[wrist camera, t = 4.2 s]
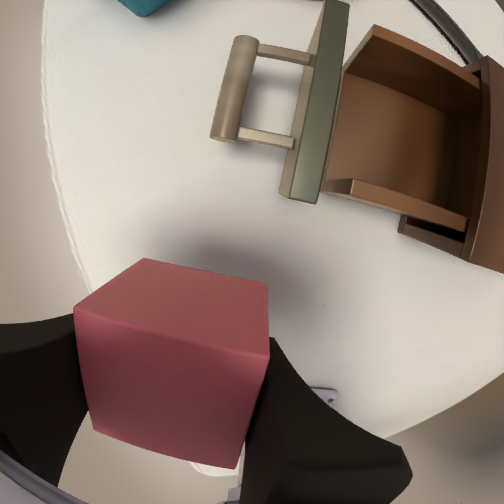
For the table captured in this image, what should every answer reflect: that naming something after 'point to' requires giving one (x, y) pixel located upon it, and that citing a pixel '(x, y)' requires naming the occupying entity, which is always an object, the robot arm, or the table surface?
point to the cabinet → (478, 184)
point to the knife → (450, 29)
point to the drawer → (369, 122)
